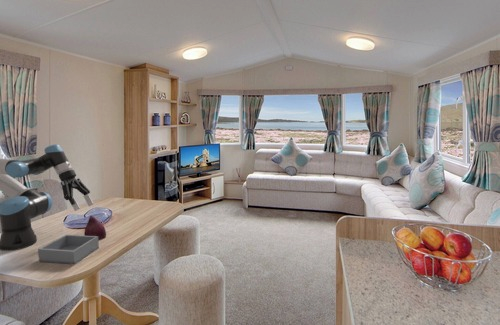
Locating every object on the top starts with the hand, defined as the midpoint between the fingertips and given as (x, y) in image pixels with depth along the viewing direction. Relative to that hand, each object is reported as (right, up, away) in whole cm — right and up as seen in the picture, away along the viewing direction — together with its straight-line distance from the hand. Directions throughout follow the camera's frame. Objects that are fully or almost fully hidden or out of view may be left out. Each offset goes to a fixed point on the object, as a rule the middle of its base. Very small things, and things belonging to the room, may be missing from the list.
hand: (84, 207), depth 155 cm
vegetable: (+5, -17, +1) cm, 18 cm away
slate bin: (+4, -19, -18) cm, 27 cm away
